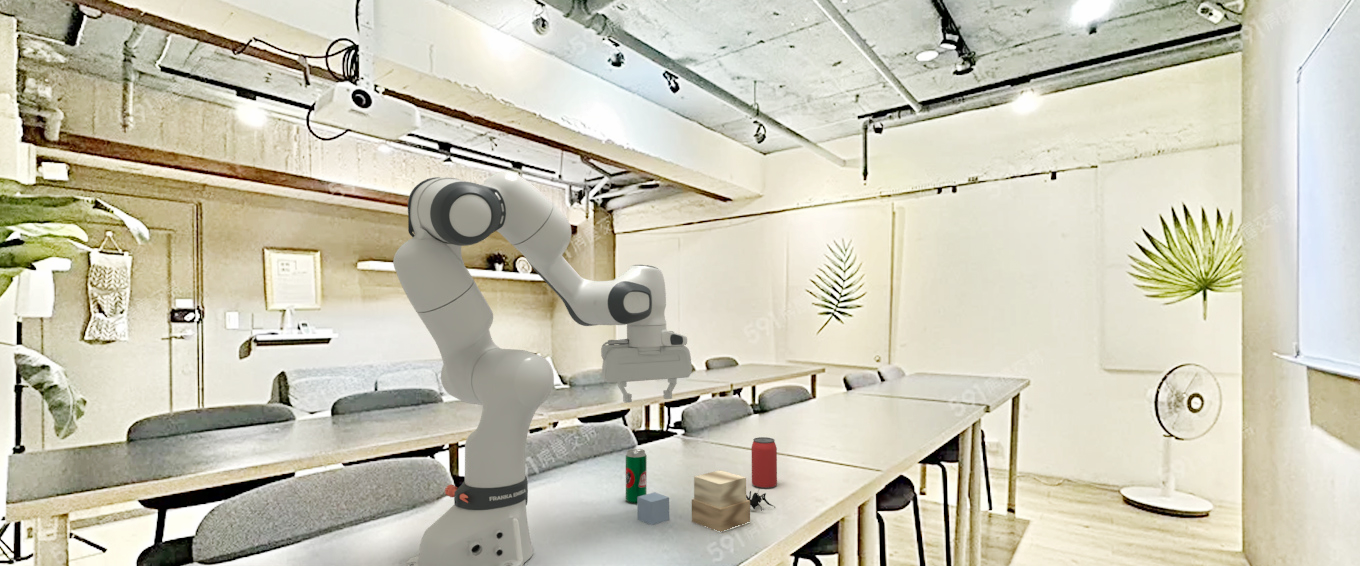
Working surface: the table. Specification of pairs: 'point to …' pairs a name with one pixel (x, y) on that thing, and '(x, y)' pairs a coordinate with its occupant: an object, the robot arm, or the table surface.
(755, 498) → the creature
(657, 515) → the blue gray block
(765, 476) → the beer can
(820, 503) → the table surface
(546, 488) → the table surface
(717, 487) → the block upper
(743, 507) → the block lower
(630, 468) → the soda can
